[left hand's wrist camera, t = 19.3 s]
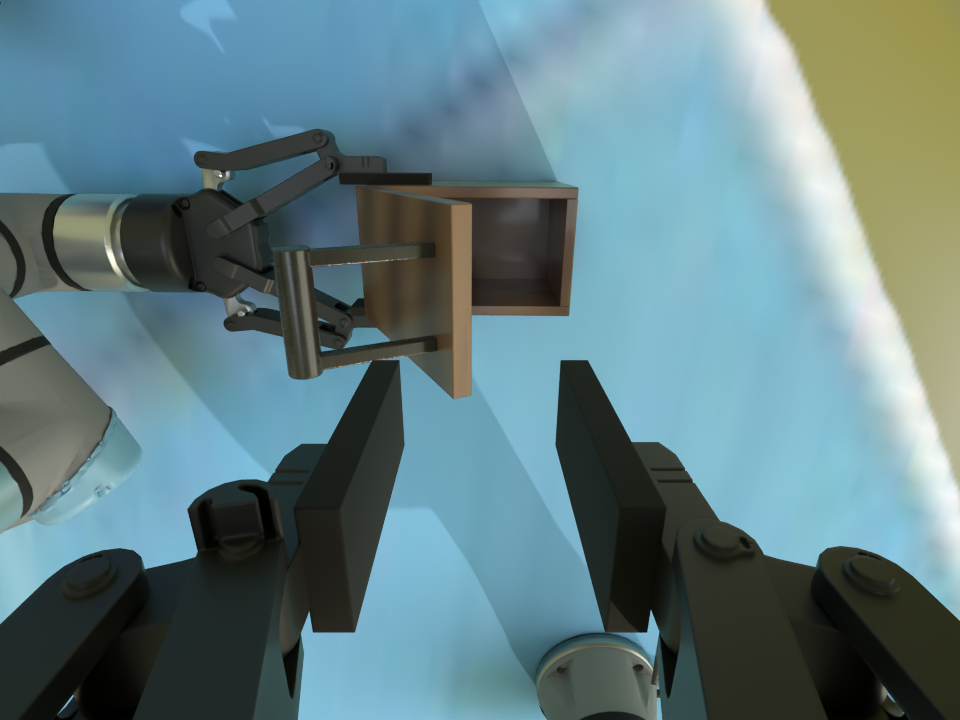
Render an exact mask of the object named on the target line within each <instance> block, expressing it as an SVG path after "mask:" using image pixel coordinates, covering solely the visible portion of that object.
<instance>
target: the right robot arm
mask: <svg viewBox="0 0 960 720" xmlns="http://www.w3.org/2000/svg"><path fill="white" fill-rule="evenodd" d="M316 151H317V153H318V155H319V157H320V160H319V161H318V162H316V163H314V164H313V165H311V166H309V167H308V168H306V169H304V170H302V171H301V172H299V173H297V174H296V175H294V176H292V177H291V178H289V179H287V180H285V181H284V182H282V183H280V184H279V185H277V186H275V187H274V188H272V189H270V190H269V191H267V192H265V193H263V194H262V195H260V196H258V197H257V198H255V199H252V200H250V201H248V202H246V203H245V204H243V203H242V202H240V201H239V200H237V199H236V198H234V197H233V196H231V195H230V194H229V193H227V192H226V191H224V190H222V186H223V184H224V183H225V182H227V181H231V180H233V179H234V178H235V171H236V170H248V169H253V168H256V167H260V166H264V165H267V164H271V163H275V162H279V161H282V160H286V159H290V158H293V157H297V156H301V155H305V154H308V153H312V152H316ZM194 161H195V163H196V165H197V166H198V167H200V168H202V176H203V188H204V189H201V190H200V191H198V192H197V193H195V194H141V195H139V196H137V195H134V194H84V193H79V194H67V195H63V194H30V193H0V534H1V533H2V532H4V531H6V530H8V529H11V528H13V527H16V526H18V525H21V524H23V523H26V522H28V521H31V520H33V519H34V520H36V521H37V522H38V523H40V524H42V525H46V526H49V525H56V524H59V523H62V522H64V521H66V520H68V519H70V518H72V517H74V516H75V515H77V514H79V513H80V512H82V511H84V510H85V509H87V508H88V507H90V506H91V505H93V504H94V503H96V502H97V501H99V500H100V499H101V498H102V497H103V496H104V495H106V494H107V493H109V492H110V491H112V490H113V489H115V488H116V487H117V486H119V485H120V484H121V483H122V482H124V481H125V480H126V479H127V478H128V477H129V476H130V475H131V474H132V473H133V472H134V471H135V470H136V469H137V467H138V466H139V465H140V462H141V460H142V450H141V447H140V446H139V444H138V443H137V442H136V440H135V439H134V438H133V436H132V435H131V434H130V432H129V431H128V430H127V429H126V427H125V426H124V425H123V423H122V422H121V421H120V419H119V418H118V417H117V415H116V412H115V411H114V409H113V408H111V407H109V406H107V405H106V404H105V403H104V402H103V400H102V399H101V398H100V397H99V396H98V395H97V394H96V393H95V392H94V391H93V390H92V389H91V387H90V386H89V385H88V384H87V383H86V382H85V381H84V380H83V379H82V378H81V377H80V375H79V374H78V373H77V372H76V371H75V370H74V369H73V368H72V367H71V366H70V365H69V364H68V362H67V361H66V360H65V359H64V358H63V357H62V356H61V355H60V354H59V353H58V352H57V351H56V349H55V348H54V347H53V346H52V344H51V343H50V342H49V341H48V340H47V339H46V338H45V337H44V335H43V334H42V333H41V332H40V330H39V329H38V328H37V327H36V326H35V325H34V324H33V322H32V321H31V320H30V319H29V318H28V317H27V316H26V314H25V313H24V312H23V311H22V310H21V309H20V308H19V306H18V305H17V304H16V303H15V302H14V301H13V300H12V299H15V298H18V297H21V296H25V295H28V294H32V293H37V292H46V291H116V292H146V291H150V290H151V291H154V292H208V293H211V294H214V295H216V296H218V297H220V298H223V300H224V304H225V307H226V311H227V314H228V318H226V319H225V320H224V327H225V328H226V329H227V330H228V331H232V332H234V331H245V330H256V331H261V332H265V333H269V334H273V335H278V336H282V337H283V330H282V323H281V316H280V311H277V310H273V309H267V308H256V305H255V304H254V303H252V302H249V301H245V300H243V299H242V298H241V297H240V293H241V292H242V291H244V290H245V289H246V288H247V287H249V286H250V287H252V288H254V289H256V290H258V291H260V292H263V293H270V294H272V295H274V296H276V297H278V294H277V287H276V280H275V272H274V266H273V265H271V264H270V263H272V262H273V261H272V254H271V251H270V248H269V246H268V243H267V241H268V233H269V232H268V225H267V223H264V221H263V219H264V218H265V217H267V216H269V215H271V214H272V213H274V212H275V211H277V210H278V209H280V208H281V207H283V206H285V205H287V204H288V203H290V202H292V201H293V200H295V199H297V198H299V197H300V196H302V195H304V194H305V193H307V192H309V191H311V190H312V189H314V188H316V187H318V186H319V185H321V184H323V183H324V182H326V181H328V180H330V179H331V178H333V177H335V176H336V175H338V174H339V178H340V184H366V185H370V184H407V185H429V184H431V183H432V173H387V165H386V159H384V158H381V157H366V156H345V155H343V154H341V152H340V151H339V150H338V147H337V145H336V143H335V137H334V135H333V134H332V133H331V132H330V131H326V130H321V129H314V130H310V131H307V132H303V133H299V134H296V135H292V136H288V137H285V138H281V139H277V140H274V141H270V142H266V143H263V144H259V145H255V146H252V147H248V148H244V149H241V150H237V151H233V152H230V153H227V152H218V151H198V152H196V153H195V155H194ZM314 291H315V300H316V309H317V317H319V318H321V319H323V320H325V321H327V322H330V323H327V322H322V321H318V327H319V336H320V345H321V346H324V347H328V348H332V349H343V348H344V347H345V345H346V344H347V343H348V341H349V340H350V338H351V336H352V331H353V329H354V328H357V327H368V328H374V327H375V328H377V327H376V326H375V325H374V324H372V323H371V322H370V321H369V320H368V319H367V318H366V317H365V303H364V298H358V299H357V300H356V301H355V303H354V304H353V305H352V306H349V305H347V304H345V303H343V302H341V301H339V300H337V299H335V298H333V297H331V296H329V295H327V294H325V293H323V292H321V291H319V290H317V289H315V288H314ZM331 323H332V324H331Z"/></svg>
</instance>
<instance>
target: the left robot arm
mask: <svg viewBox="0 0 960 720" xmlns="http://www.w3.org/2000/svg"><path fill="white" fill-rule="evenodd" d="M403 449H404V429H403V413H402V397H401V381H400V364H399V360H372V362H371V364H370V366H369V367H368V369H367V371H366V373H365V375H364V377H363V379H362V380H361V382H360V384H359V386H358V388H357V390H356V392H355V393H354V395H353V397H352V399H351V401H350V403H349V405H348V407H347V408H346V410H345V412H344V414H343V416H342V418H341V420H340V421H339V423H338V425H337V427H336V429H335V431H334V433H333V434H332V436H331V438H330V440H329V442H328V444H301V445H299V446H298V447H297V448H295V449H294V450H292V451H291V452H290V453H288V454H287V455H285V456H284V458H283V459H282V461H281V462H280V464H279V465H278V467H277V468H276V470H275V473H273V474H272V476H271V478H270V479H269V481H268V482H265V481H261V480H257V479H252V480H238V481H233V482H228V483H224V484H222V485H219V486H217V487H215V488H212V489H210V490H208V491H206V492H205V493H203V494H202V495H201V496H199V497H198V498H196V499H195V500H194V501H193V503H192V504H191V505H190V507H189V508H188V509H187V510H188V514H189V518H190V522H191V526H192V530H193V534H194V538H195V542H196V546H197V550H198V553H197V555H196V557H194V558H191V559H188V560H184V561H180V562H176V563H171V564H167V565H162V566H158V567H153V568H149V569H145V568H144V565H143V561H142V558H141V556H139V555H138V554H137V553H136V552H135V551H133V550H127V549H121V548H118V549H110V550H102V551H99V552H96V553H93V554H89V555H86V556H83V557H81V558H79V559H77V560H76V561H74V562H72V563H70V564H68V565H66V566H64V567H63V568H61V569H60V570H59V571H57V572H56V573H55V574H53V575H52V576H51V577H50V578H48V579H47V580H46V581H45V582H44V583H43V584H42V585H41V586H40V587H39V588H38V589H37V590H36V591H35V592H34V593H33V594H31V595H30V596H29V597H28V598H27V599H26V600H25V601H24V602H23V603H22V604H21V605H20V606H19V607H18V608H17V609H16V610H15V611H14V612H13V613H12V614H11V615H10V616H8V617H7V618H6V619H5V620H4V621H3V622H2V623H1V624H0V720H298V711H299V700H300V690H301V679H302V669H303V658H304V651H303V644H302V638H301V631H302V629H303V626H304V624H305V621H306V618H307V616H308V613H309V611H310V617H311V623H312V629H313V632H355V630H356V626H357V622H358V618H359V615H360V611H361V607H362V603H363V600H364V596H365V592H366V588H367V584H368V581H369V577H370V573H371V569H372V566H373V562H374V558H375V554H376V551H377V547H378V543H379V539H380V535H381V532H382V528H383V524H384V520H385V517H386V513H387V509H388V505H389V501H390V498H391V494H392V490H393V486H394V483H395V479H396V475H397V471H398V467H399V464H400V460H401V456H402V452H403ZM556 449H557V452H558V456H559V460H560V464H561V467H562V471H563V475H564V479H565V483H566V486H567V490H568V494H569V498H570V501H571V505H572V509H573V513H574V517H575V520H576V524H577V528H578V532H579V535H580V539H581V543H582V547H583V551H584V554H585V558H586V562H587V566H588V569H589V573H590V577H591V581H592V584H593V588H594V592H595V596H596V600H597V603H598V607H599V611H600V615H601V618H602V622H603V626H604V630H605V632H647V629H648V623H649V617H650V611H651V610H652V613H653V616H654V618H655V621H656V624H657V626H658V629H659V631H660V632H659V638H658V644H657V650H656V655H655V661H654V667H652V664H651V662H650V659H649V657H648V656H647V654H646V653H645V652H644V651H643V650H642V649H641V648H640V647H639V646H638V645H636V644H635V643H633V642H631V641H629V640H627V639H624V638H621V637H618V636H614V635H606V634H591V635H584V636H579V637H576V638H572V639H570V640H567V641H565V642H563V643H561V644H559V645H557V646H556V647H554V648H553V649H552V650H551V651H549V652H548V653H547V654H546V655H545V657H544V658H543V659H542V661H541V662H540V664H539V666H538V669H537V673H536V686H537V695H538V700H539V703H540V705H541V707H542V708H541V707H540V708H541V711H542V712H543V714H544V716H545V717H546V719H547V720H657V698H660V699H661V709H662V720H960V621H959V620H958V619H957V618H956V617H955V616H954V615H953V614H952V613H951V612H950V611H949V610H948V609H947V608H946V607H945V606H944V605H942V604H941V603H940V602H939V601H938V600H937V599H936V598H935V597H934V596H933V595H932V594H931V593H930V592H929V591H928V590H927V589H926V588H925V587H924V586H922V585H921V584H920V583H919V582H918V581H917V580H916V579H915V578H914V577H913V576H912V575H910V574H909V573H908V572H906V571H905V570H904V569H902V568H901V567H900V566H899V565H897V564H895V563H893V562H892V561H890V560H888V559H886V558H884V557H882V556H880V555H878V554H875V553H872V552H868V551H866V550H862V549H859V548H852V547H844V546H838V547H832V548H827V549H826V550H825V551H823V552H822V553H821V554H820V555H819V558H818V561H817V565H816V567H812V566H808V565H803V564H799V563H794V562H789V561H785V560H780V559H776V558H773V557H770V556H766V555H764V554H763V552H762V550H761V549H760V547H759V546H758V544H757V543H756V541H755V540H754V539H753V538H752V537H750V536H749V535H748V534H747V533H745V532H744V531H743V530H741V529H739V528H737V527H735V526H732V525H730V524H728V523H725V522H721V521H719V519H718V518H717V516H716V515H715V513H714V512H713V510H712V509H711V507H710V505H709V504H708V502H707V501H706V499H705V498H704V496H703V495H702V493H701V492H700V490H699V489H698V487H697V486H696V484H695V483H693V480H692V478H691V477H690V475H689V474H688V472H687V471H685V468H684V466H683V465H682V463H681V462H680V460H679V459H678V457H677V456H676V454H674V453H673V452H672V451H670V450H669V449H667V448H666V447H664V446H663V445H662V444H660V443H659V442H631V440H630V438H629V436H628V434H627V433H626V431H625V429H624V427H623V425H622V423H621V421H620V420H619V418H618V416H617V414H616V412H615V410H614V408H613V407H612V405H611V403H610V401H609V399H608V397H607V395H606V393H605V392H604V390H603V388H602V386H601V384H600V382H599V380H598V379H597V377H596V375H595V373H594V371H593V369H592V367H591V366H590V364H589V362H588V360H561V364H560V381H559V397H558V413H557V429H556ZM658 680H659V688H660V689H658V690H657V685H658ZM887 693H889V694H890V695H891V696H892V698H893V699H894V700H895V702H896V703H895V702H892V700H891V699H890V698H889V697H888V695H887ZM72 695H73V696H74V697H73V698H72V699H71V701H70V702H69V703H68V705H67V706H66V707H65V708H64V709H63V710H62V711H61V709H62V708H63V707H64V705H65V704H66V703H67V701H68V700H69V699H70V698H71V696H72ZM539 703H538V704H539ZM540 705H539V706H540ZM542 709H543V710H542ZM60 711H61V712H60ZM59 712H60V713H59ZM902 712H903V713H902ZM58 713H59V714H58ZM57 714H58V715H57Z"/></svg>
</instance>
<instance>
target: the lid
mask: <svg viewBox="0 0 960 720" xmlns="http://www.w3.org/2000/svg"><path fill="white" fill-rule="evenodd" d="M356 197H357V210H358V224H359V237H360V246H344V247H329V248H314V249H310V248H309V247H308V246H305V245H283V246H277V247H274V248H272V250H271V251H272V258H273V265H274V272H275V280H276V287H277V294H278V301H279V309H280V316H281V323H282V330H283V338H284V345H285V352H286V359H287V367H288V374H289V376H290V377H291V378H293V379H299V380H304V379H311V378H315V377H318V376H320V375H321V374H322V373H323V370H326V369H332V368H338V367H344V366H350V365H356V364H362V363H368V362H372V360H386V359H392V358H398V357H404V356H408V357H409V358H410V359H411V360H412V361H413V362H414V363H415V364H416V365H417V366H418V367H420V368H421V369H422V370H423V371H424V372H425V373H426V374H427V375H428V376H429V377H430V378H431V379H432V380H433V381H435V382H436V383H437V384H438V385H439V386H440V387H441V388H442V389H443V390H444V391H445V392H446V393H447V394H448V395H449V396H451V397H452V398H453V399H456V398H461V397H465V396H470V395H471V323H472V204H471V203H467V202H461V201H455V200H450V199H444V198H438V197H432V196H426V195H420V194H414V193H409V192H403V191H397V190H391V189H385V188H379V187H374V186H356ZM358 263H362V277H363V290H364V303H365V317H366V318H367V319H368V320H369V321H370V322H371V323H372V324H374V325H375V326H376V327H377V328H378V329H379V330H380V331H381V332H382V333H383V334H384V335H385V336H386V337H387V338H389V339H390V340H391V341H390V342H383V343H377V344H370V345H363V346H357V347H350V348H343V349H337V350H330V351H324V352H321V345H320V336H319V327H318V318H317V309H316V300H315V291H314V282H313V272H312V267H321V266H333V265H346V264H358Z"/></svg>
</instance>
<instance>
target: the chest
mask: <svg viewBox="0 0 960 720" xmlns="http://www.w3.org/2000/svg"><path fill="white" fill-rule="evenodd" d="M366 186H374V187H379V188H385V189H391V190H397V191H403V192H409V193H414V194H420V195H426V196H432V197H438V198H444V199H450V200H455V201H461V202H467V203H471V204H472V315H517V316H569V309H570V307H569V306H570V296H571V283H572V270H573V256H574V243H575V230H576V216H577V203H578V199H577V198H578V188H577V187H574V186H571V185H568V184H564V183H561V182H555V181H453V180H432V183H431V184H429V185H407V184H370V185H366Z"/></svg>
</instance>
